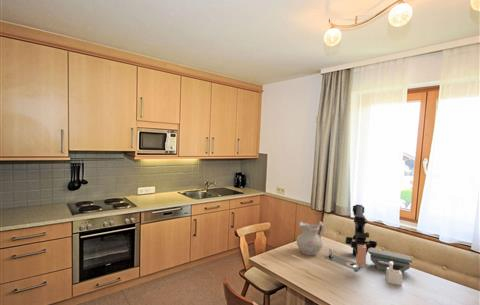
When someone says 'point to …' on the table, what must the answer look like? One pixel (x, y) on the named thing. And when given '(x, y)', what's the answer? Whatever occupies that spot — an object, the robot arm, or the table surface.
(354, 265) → the drilled plate
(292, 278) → the table surface
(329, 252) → the steel pin
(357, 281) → the table surface
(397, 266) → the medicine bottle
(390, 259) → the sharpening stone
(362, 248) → the post
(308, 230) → the ceramic pitcher
